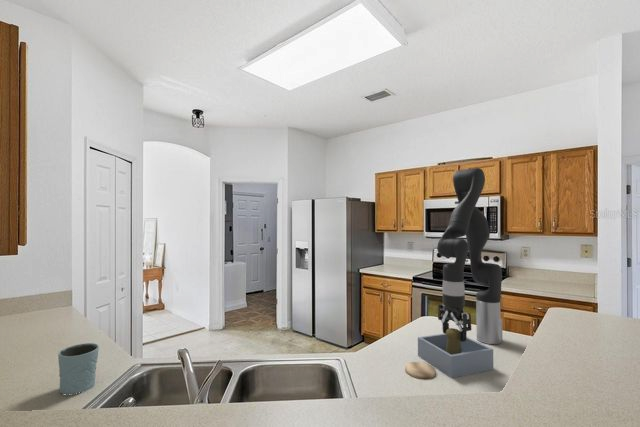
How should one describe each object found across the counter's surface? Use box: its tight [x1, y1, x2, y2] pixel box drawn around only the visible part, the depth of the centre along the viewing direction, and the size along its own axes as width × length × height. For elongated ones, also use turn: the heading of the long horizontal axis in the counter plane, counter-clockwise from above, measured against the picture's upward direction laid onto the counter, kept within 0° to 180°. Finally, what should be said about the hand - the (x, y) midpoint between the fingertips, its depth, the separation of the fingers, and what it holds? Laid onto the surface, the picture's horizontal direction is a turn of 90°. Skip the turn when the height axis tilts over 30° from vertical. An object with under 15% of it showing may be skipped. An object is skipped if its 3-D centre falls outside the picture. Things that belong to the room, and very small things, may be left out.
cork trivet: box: [404, 361, 437, 380], centre depth 109 cm, size 10×10×1 cm
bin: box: [417, 333, 494, 379], centre depth 116 cm, size 18×18×7 cm
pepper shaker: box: [446, 327, 462, 355], centre depth 116 cm, size 6×6×11 cm
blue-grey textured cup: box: [57, 342, 100, 395], centre depth 99 cm, size 10×10×12 cm
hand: (454, 337), depth 116 cm, fingers open, 8 cm apart
